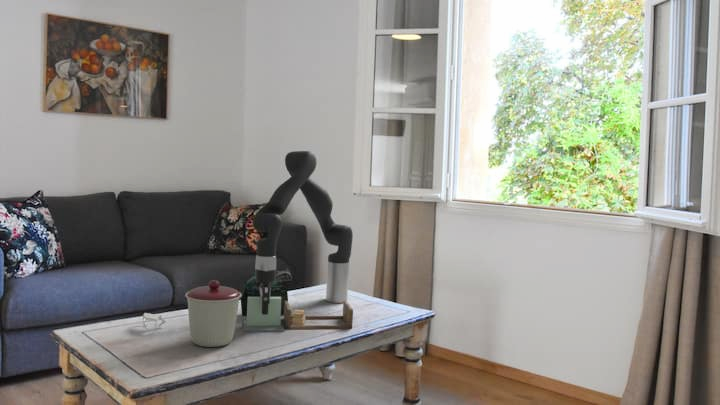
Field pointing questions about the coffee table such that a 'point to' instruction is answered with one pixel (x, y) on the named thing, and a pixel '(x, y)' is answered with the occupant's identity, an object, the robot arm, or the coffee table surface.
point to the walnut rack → (346, 317)
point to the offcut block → (298, 318)
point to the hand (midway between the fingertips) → (264, 311)
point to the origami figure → (153, 318)
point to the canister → (212, 314)
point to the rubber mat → (262, 328)
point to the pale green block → (256, 314)
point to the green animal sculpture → (277, 290)
